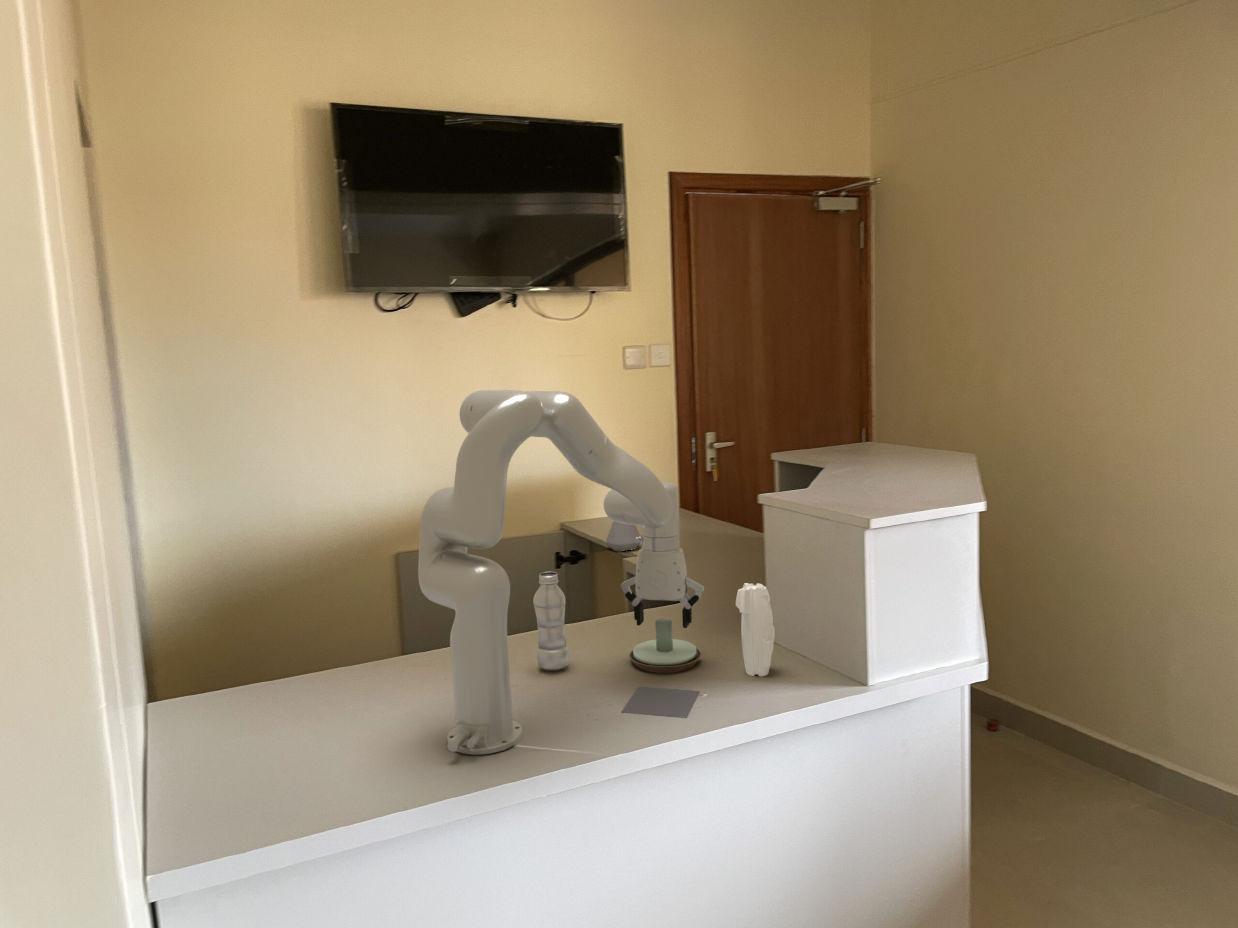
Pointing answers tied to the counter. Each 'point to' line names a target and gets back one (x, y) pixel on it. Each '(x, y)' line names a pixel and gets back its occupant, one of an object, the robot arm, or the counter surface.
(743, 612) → the lumpy white ridged column
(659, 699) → the mat
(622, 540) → the coffee pot
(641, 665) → the saucer
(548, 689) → the counter surface
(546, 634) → the plastic bottle
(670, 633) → the lid
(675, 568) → the robot arm
